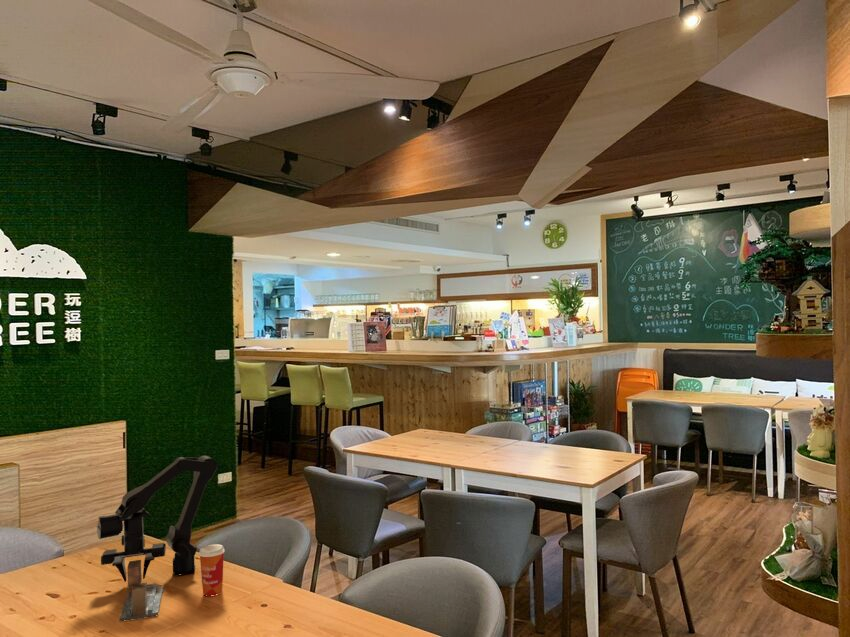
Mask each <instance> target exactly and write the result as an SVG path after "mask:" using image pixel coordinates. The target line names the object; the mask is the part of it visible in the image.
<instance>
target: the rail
mask: <svg viewBox="0 0 850 637" xmlns="http://www.w3.org/2000/svg"><path fill="white" fill-rule="evenodd" d="M163 591H164V585H158V582H156V583H148V582H141V583H140V584H134V586H133V588H131V589H130V590H128V591H127V594H126V598H125V601H124V604H123V606H122V607H123V608H122V610H121V614H120V617H119V622H120V621H124V620H130V621H132V620H131V619H136V620H139V619H138V618H142V619H145V618H144V617H148V618H152V617H151V616H154V617H157V616H156V615H158V616H159V614H158V613H159V612H160V608H161V604H162V598H163V597H162V596H163V593H164V592H163ZM162 592H163V593H162ZM161 597H162V598H161ZM124 622H125V621H124Z"/></svg>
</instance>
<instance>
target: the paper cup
mask: <svg viewBox="0 0 850 637" xmlns="http://www.w3.org/2000/svg"><path fill="white" fill-rule="evenodd" d="M225 551H226V550H225V548H224V545H222V544H220V543H219V544H217V543H216V544H215V543H214V544H213V543H212V544H209V545H205V546H203V547H201V548H200V549H199V553H198V556H199V561H200V572H201V573H200V575H201V583H202V584H201V586H202V595H203V594H204V595H207V596H211V595H216V594H219V593H221V592H222V593H223V586H224V584H223V583H224V582H223V581H224V580H223V579H224V555H225V554H224V553H225ZM222 593H221V594H222ZM204 595H203V596H204ZM219 595H220V594H219Z"/></svg>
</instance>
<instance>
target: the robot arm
mask: <svg viewBox="0 0 850 637" xmlns="http://www.w3.org/2000/svg"><path fill="white" fill-rule="evenodd" d="M218 466H219V465H218V462H217V461H216V460H215V459H214V458H212V457H210V456H208V455H201V456H199V457H183V456H180V457H179V456H178V457H176V458H175V460H174V461H173V462H171V463H170V464H169V465H168V466H166V467H165V468H164V469H163V470H161V471H160V472H158V473H157V474H156V475H155V476H154V477H152V478H151V479H149V481H147V482H146V483H144V484H142V485H140V486H138V487H135V488H133V489H131V490H130V491H127V492H126V493H125V494H124V495H123V496H122V498H121V503H120V505H119V506H118V508H116V511H115V513H114V514H109V515H102V516H101V515H100V516H98V522H97V526H96V532H97V534H96V535H97V536H98V537H97V538H98V540H102V539H106V538H108V539H109V538H112V537H116V536H120V534H122V532H123V535H121V546H123V547H124V551H118V550H117V548H115V549H109V550H108V549H106V550H104V551H103V552H102V554H101V557H100V565H101V566H104V565H111V566H113V567H116V568H117V570H118V572H119V573H120V574H121V577H122V579H123V581H124V582H125V583H127V571H126V565H125V564H126V562H125V559H126V558H132V557H139V556H145V558H144V561H143V571H142V579H143V580H145V578H146V575H147V571H148V568H149V566H150V564H151V562H153V561H155V559H156V558H160V557H161V558H162V557H165V556H166V551H167V546H168V547H169V548H170V549H171V550H172V551H173V552H174V555H173V556H174V557H173V558H172V573H173V576H174V575H178V576H180V575H179V574H185V575H188V574H187V573H192V574H195V573H194V572H196V565H195V564H196V563H195V562H196V561H195V559H196V558H195V557H196V556H195V555H196V553H197V547H195V545H193V544H192V543H191V539H192V525H193V522H194V520H195V517H196V515H197V512H198V508H199V506H200V503H201V500H202V498H203V494H204V492H205V490H206V487H207V484H208V483H209V482H210V481H211V480H212V478H213V477H214V475H215V473H216V471H217V470H218ZM184 471H190V472H193V480H192V484H191V487H190V489H189V492H188V494H187V497H186V500H185V503H184V504H183V505H184V506H183V508H182V510H181V513H180V516H179V518H178V521H177V522H176V524H175V525H174V526H173V525H170V526H169V529H168V531H167V532H168V533H167V534H166V536H165V538H166V544H167V546H166V544H165V542H161V543H158V542H157V543H152V545H151V547H146V546H145V545H146V539H145V535H144V518H145V517H149V516H151V514H150V513H149V512H148V511H146V509H145V508H144V507H146V506H147V504H148V503H149V502H150V500H151V499H152V497H153V496H154V495H155V494H156V493H157V492H158V491H160V490H161V489H163V487H165V486H166V485H167V484H169V483H170V482H171V481H173V479H175V478H177V476H178V475H180V474H181V473H182V472H184ZM145 547H146V548H145Z"/></svg>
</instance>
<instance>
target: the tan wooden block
mask: <svg viewBox="0 0 850 637" xmlns="http://www.w3.org/2000/svg"><path fill="white" fill-rule="evenodd" d="M142 579H143V575H142V559H137V560H129V562H128V565H127V589H128V588H129V589H133V588H132V587H133V586H134V584H140V583H142Z"/></svg>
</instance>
